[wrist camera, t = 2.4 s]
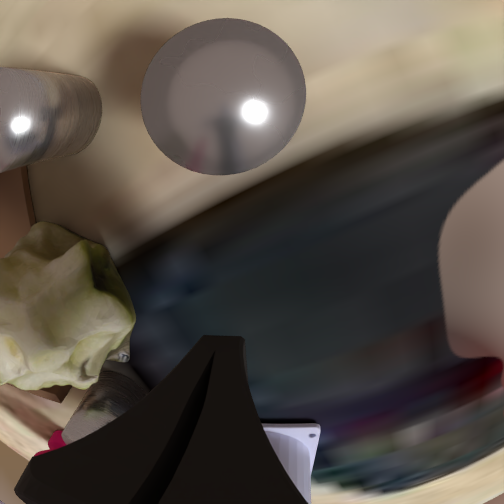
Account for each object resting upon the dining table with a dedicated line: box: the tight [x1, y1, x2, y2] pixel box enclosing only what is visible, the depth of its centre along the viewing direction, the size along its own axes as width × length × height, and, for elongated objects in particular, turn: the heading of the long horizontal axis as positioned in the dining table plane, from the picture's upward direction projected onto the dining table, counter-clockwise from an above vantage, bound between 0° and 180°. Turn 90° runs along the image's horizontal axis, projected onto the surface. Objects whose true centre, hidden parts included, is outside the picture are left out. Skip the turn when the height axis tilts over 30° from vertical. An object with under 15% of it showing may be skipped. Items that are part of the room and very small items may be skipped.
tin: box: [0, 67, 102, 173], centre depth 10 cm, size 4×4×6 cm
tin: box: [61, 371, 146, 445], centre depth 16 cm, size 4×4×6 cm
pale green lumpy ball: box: [0, 221, 136, 390], centre depth 12 cm, size 9×9×8 cm
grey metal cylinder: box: [141, 18, 306, 175], centre depth 9 cm, size 4×4×6 cm
